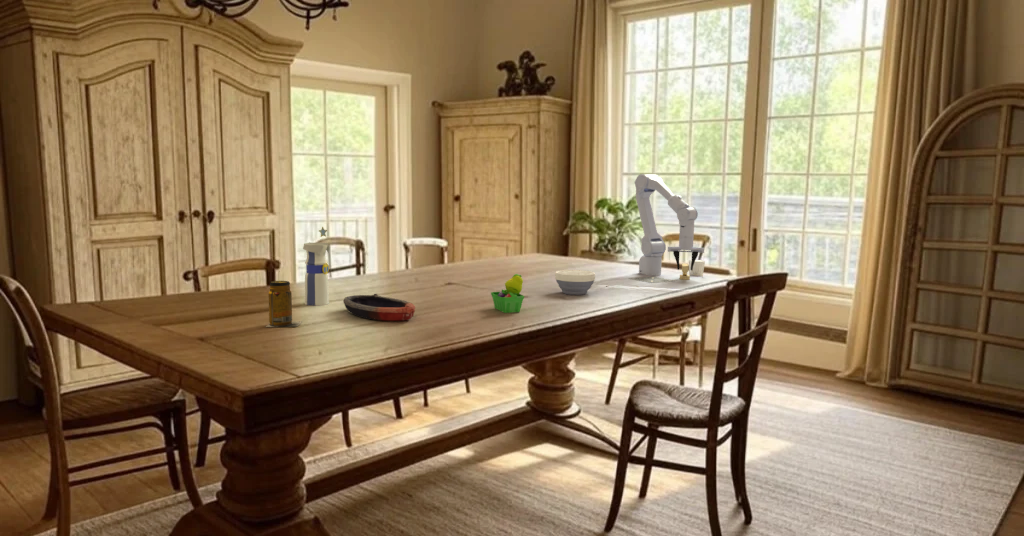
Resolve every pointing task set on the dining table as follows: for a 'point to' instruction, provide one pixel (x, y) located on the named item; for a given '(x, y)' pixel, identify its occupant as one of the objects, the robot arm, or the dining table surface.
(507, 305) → the fruit basket
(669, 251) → the robot arm
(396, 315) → the dish
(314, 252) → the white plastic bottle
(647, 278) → the cover plate
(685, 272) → the t key
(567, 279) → the bowl
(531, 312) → the dining table surface
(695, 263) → the beige cylinder
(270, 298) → the condiment
